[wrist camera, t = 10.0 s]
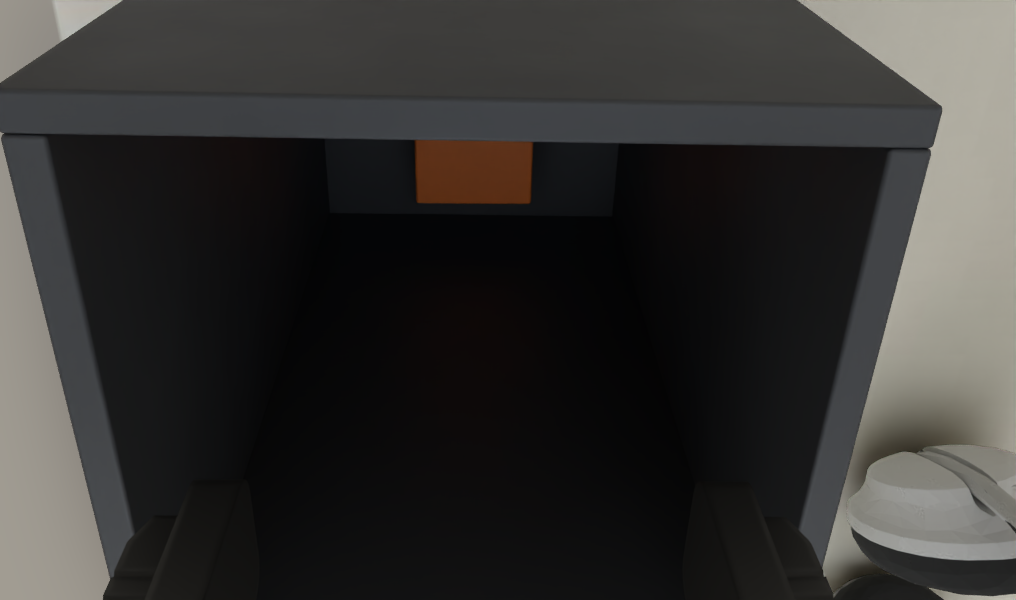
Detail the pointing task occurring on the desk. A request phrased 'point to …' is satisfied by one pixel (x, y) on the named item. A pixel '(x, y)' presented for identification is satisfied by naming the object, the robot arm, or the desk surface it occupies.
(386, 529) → the wastebasket
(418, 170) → the block
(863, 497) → the headphones
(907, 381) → the desk surface
